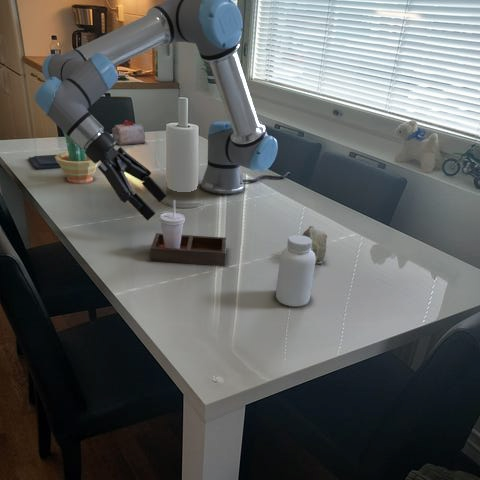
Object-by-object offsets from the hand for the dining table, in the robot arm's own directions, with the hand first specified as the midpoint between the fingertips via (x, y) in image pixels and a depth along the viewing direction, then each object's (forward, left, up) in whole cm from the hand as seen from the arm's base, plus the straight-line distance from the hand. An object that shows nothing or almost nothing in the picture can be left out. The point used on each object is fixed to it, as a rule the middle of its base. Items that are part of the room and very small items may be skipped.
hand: (157, 207), depth 127 cm
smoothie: (-3, +2, -12) cm, 12 cm away
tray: (-7, +4, -12) cm, 15 cm away
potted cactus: (+2, -68, -13) cm, 69 cm away
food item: (-33, -114, -13) cm, 119 cm away
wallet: (+4, -91, -13) cm, 92 cm away
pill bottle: (-19, +35, -13) cm, 42 cm away
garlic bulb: (-37, +19, -13) cm, 43 cm away
